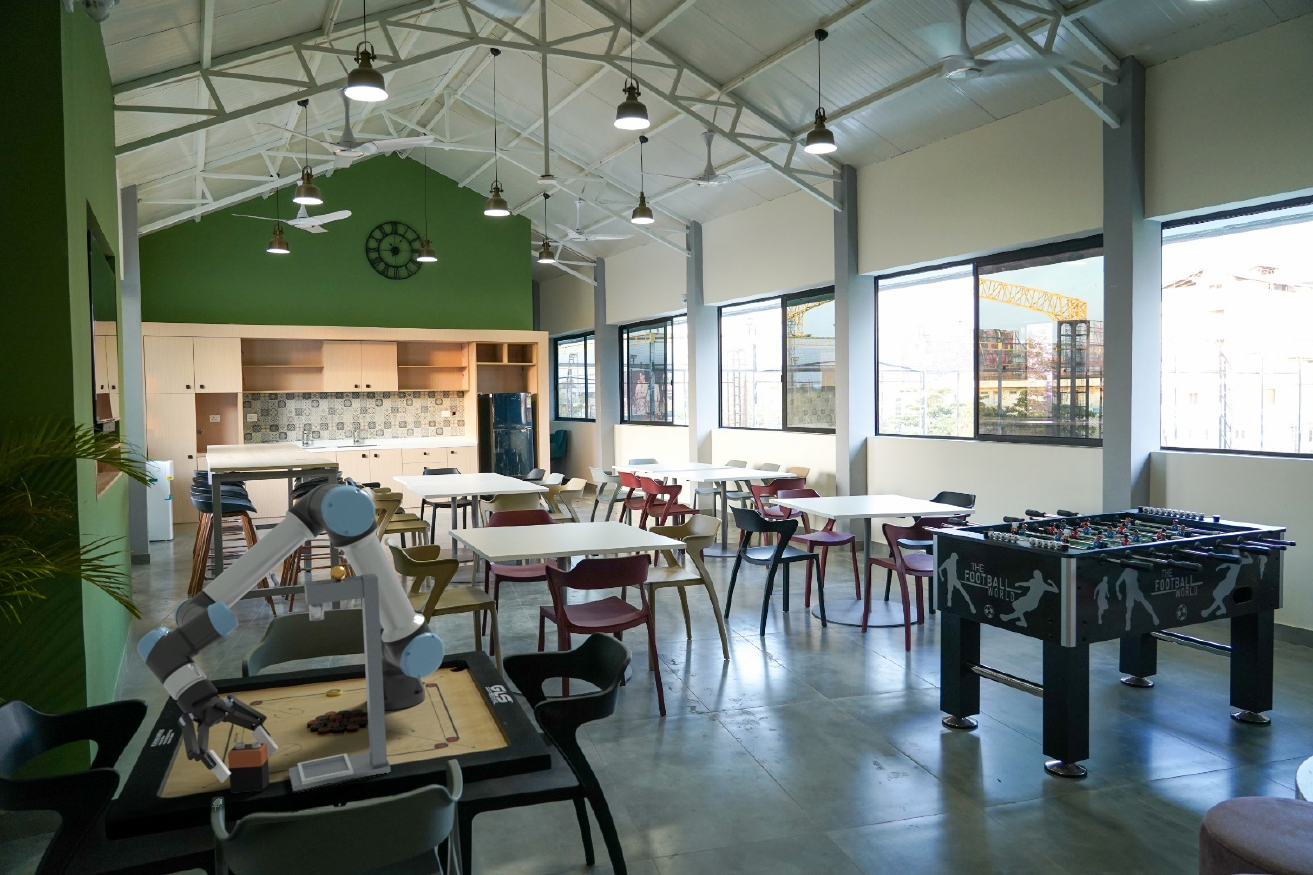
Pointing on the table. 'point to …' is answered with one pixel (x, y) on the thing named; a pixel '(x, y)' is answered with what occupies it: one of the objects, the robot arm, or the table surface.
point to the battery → (248, 767)
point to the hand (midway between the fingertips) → (251, 765)
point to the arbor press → (376, 759)
